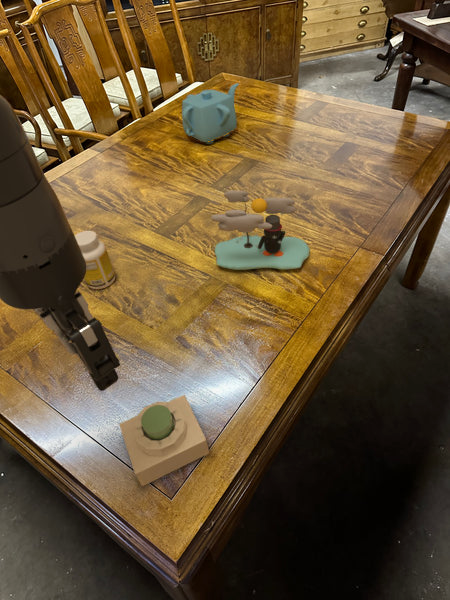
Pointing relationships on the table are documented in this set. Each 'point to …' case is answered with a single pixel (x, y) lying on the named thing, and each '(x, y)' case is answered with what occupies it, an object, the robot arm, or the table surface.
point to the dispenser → (164, 442)
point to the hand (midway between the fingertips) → (88, 359)
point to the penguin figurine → (256, 249)
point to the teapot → (209, 114)
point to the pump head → (157, 422)
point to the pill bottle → (95, 260)
